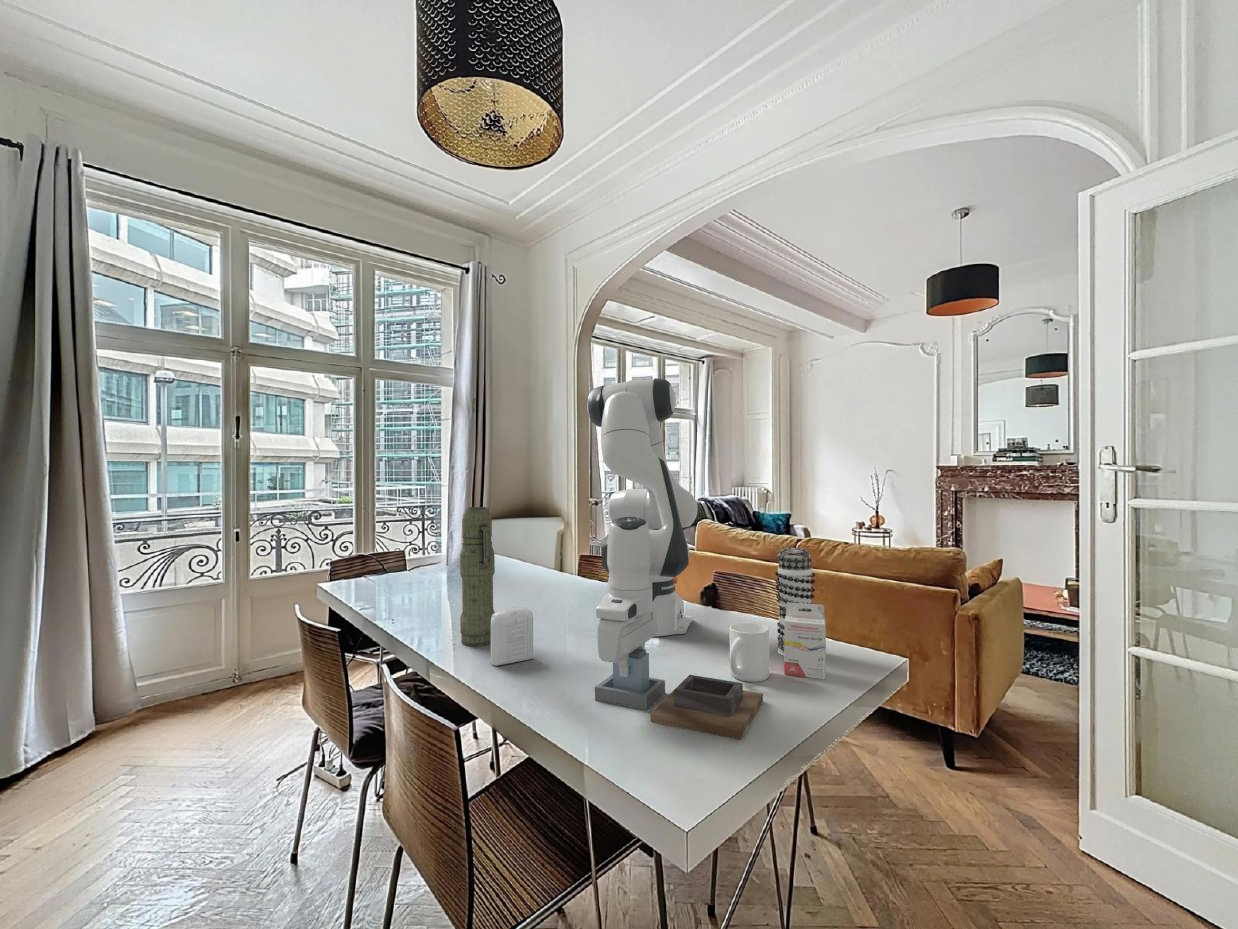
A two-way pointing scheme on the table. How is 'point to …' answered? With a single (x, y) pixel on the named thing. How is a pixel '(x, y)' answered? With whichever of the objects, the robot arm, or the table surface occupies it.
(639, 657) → the plug
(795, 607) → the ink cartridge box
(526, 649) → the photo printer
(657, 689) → the grey rectangular frame
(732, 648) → the mug
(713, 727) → the dock
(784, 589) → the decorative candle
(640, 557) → the robot arm
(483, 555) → the thermos
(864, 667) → the table surface
